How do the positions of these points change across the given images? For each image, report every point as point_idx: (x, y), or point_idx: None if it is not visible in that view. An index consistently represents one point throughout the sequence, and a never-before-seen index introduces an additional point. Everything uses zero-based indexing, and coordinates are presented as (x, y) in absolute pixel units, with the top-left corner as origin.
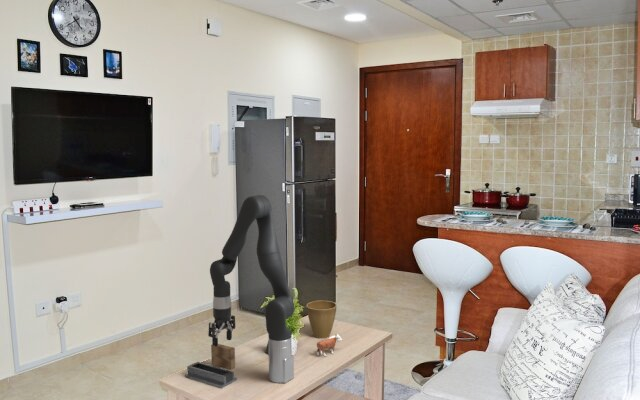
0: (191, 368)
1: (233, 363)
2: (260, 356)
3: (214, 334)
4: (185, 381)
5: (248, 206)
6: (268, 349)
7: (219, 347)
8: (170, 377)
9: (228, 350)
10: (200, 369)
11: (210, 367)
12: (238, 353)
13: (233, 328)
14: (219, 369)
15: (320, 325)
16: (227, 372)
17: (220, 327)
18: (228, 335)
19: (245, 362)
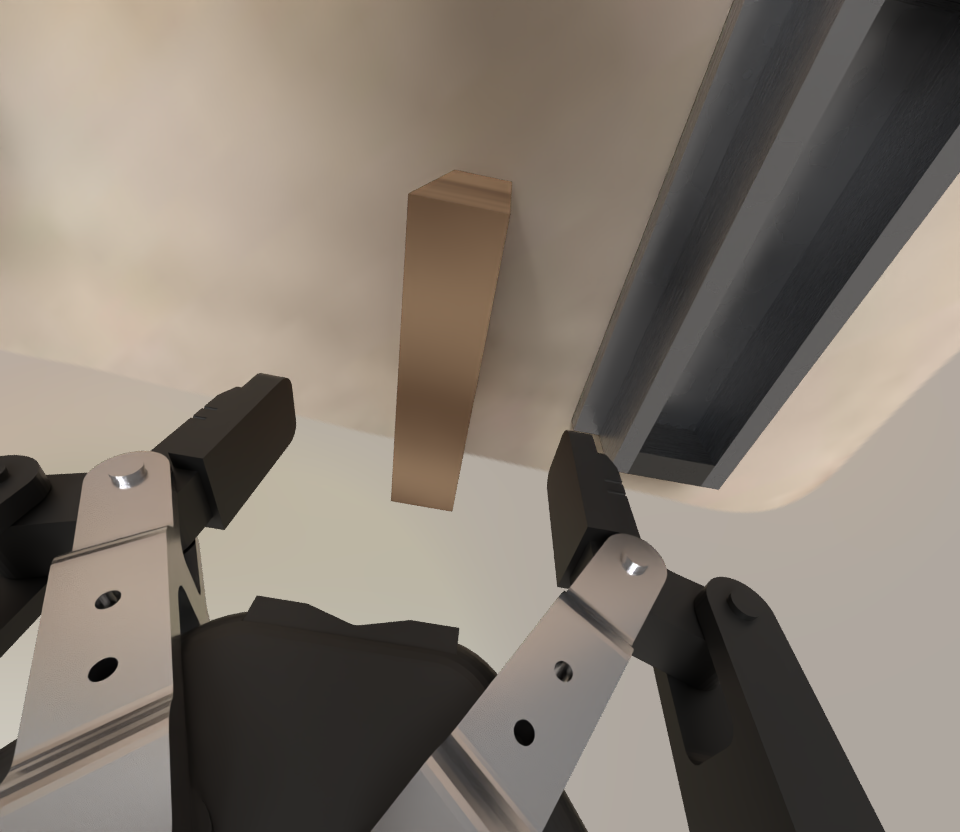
0: (739, 452)
1: (470, 180)
2: (55, 58)
3: (730, 638)
4: (789, 412)
5: None
6: None
7: (470, 415)
8: (722, 507)
9: (499, 262)
10: (787, 377)
11: (699, 326)
12: (188, 324)
13: (40, 479)
14: (777, 192)
15: None
16: (863, 19)
17: (567, 777)
18: (254, 447)
19: (284, 144)
